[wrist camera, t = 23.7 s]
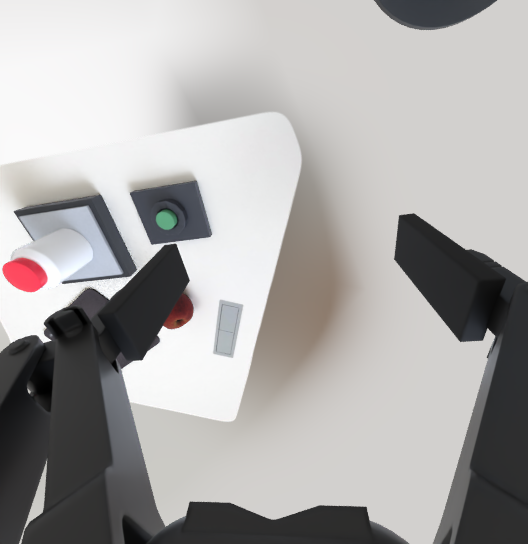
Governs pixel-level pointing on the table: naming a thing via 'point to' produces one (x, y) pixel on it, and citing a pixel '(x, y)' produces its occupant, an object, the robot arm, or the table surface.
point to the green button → (166, 219)
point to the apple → (180, 313)
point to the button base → (181, 202)
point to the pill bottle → (48, 260)
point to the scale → (83, 234)
